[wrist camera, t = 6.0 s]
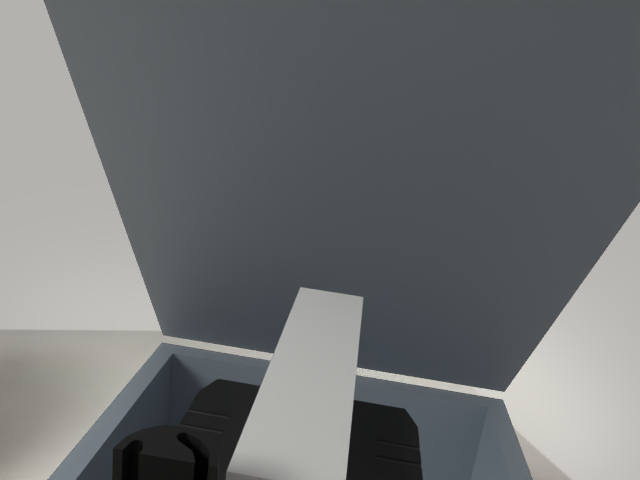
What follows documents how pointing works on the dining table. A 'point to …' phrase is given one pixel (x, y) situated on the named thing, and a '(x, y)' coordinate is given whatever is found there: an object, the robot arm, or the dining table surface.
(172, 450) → the robot arm
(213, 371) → the mailer box
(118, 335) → the dining table surface
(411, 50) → the lid
